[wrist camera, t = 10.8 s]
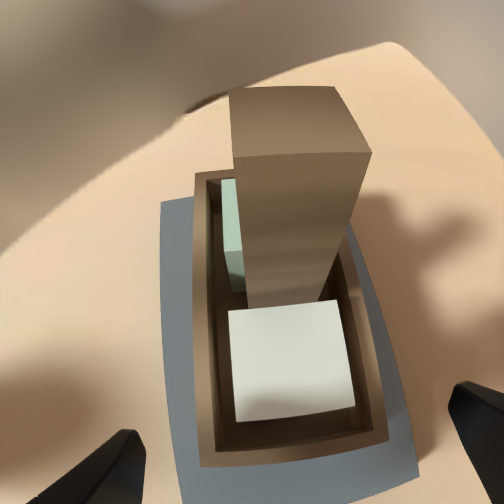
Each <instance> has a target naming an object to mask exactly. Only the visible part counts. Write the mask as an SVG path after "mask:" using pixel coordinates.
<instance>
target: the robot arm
mask: <svg viewBox="0 0 504 504" xmlns="http://www.w3.org/2000/svg"><path fill="white" fill-rule="evenodd" d="M448 411H449V414H450V416H451V418H452V420H453V423H454V425H455V428H456V430H457V432H458V435H459V437H460V440H461V442H462V444H463V447H464V449H465V451H466V453H467V455H468V457H469V459H470V460H471V462H472V464H473V466H474V468H475V470H476V472H477V474H478V476H479V478H480V480H481V482H482V484H483V486H484V488H485V490H486V492H487V494H488V496H489V498H490V500H491V503H492V504H504V393H501V392H498V391H495V390H492V389H489V388H487V387H484V386H481V385H478V384H475V383H473V382H470V381H463V382H461V383H458V384H456V385H455V387H454V389H453V392H452V395H451V398H450V401H449V404H448ZM145 463H146V450H145V447H144V445H143V443H142V441H141V438H140V436H139V434H138V432H137V431H136V430H133V429H121V430H119V431H118V432H117V433H116V434H115V435H113V436H112V437H111V438H110V439H109V440H107V441H106V442H105V443H104V444H102V445H101V446H100V447H99V448H98V449H96V450H95V451H94V452H93V453H91V454H90V455H89V456H88V457H86V458H85V459H84V460H83V461H81V462H80V463H79V464H78V465H76V466H75V467H74V468H73V469H71V470H70V471H69V472H67V473H66V474H65V475H64V476H62V477H61V478H60V479H58V480H57V481H56V482H55V483H53V484H52V485H51V486H49V487H48V488H47V489H45V490H44V491H43V492H41V493H40V494H39V495H38V497H34V498H33V499H32V500H30V501H29V502H28V503H26V504H142V497H143V485H144V474H145Z"/></svg>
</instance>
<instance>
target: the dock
mask: <svg viewBox="0 0 504 504" xmlns="http://www.w3.org/2000/svg"><path fill="white" fill-rule="evenodd" d="M193 215H194V196H193V197H187V198H181V199H175V200H169V201H164V202H161V214H160V302H161V327H162V345H163V360H164V372H165V384H166V394H167V404H168V412H169V421H170V429H171V436H172V443H173V450H174V457H175V463H176V469H177V475H178V481H179V486H180V492H181V497H182V502H183V504H348V503H351V502H354V501H358V500H361V499H364V498H367V497H370V496H373V495H375V494H378V493H381V492H384V491H386V490H389V489H391V488H394V487H396V486H399V485H401V484H404V483H406V482H408V481H411V480H413V479H415V478H417V477H420V476H419V469H418V463H417V456H416V450H415V445H414V439H413V434H412V429H411V424H410V419H409V414H408V410H407V405H406V401H405V396H404V392H403V388H402V384H401V380H400V376H399V372H398V368H397V364H396V360H395V357H394V353H393V349H392V346H391V342H390V339H389V335H388V332H387V329H386V325H385V322H384V319H383V315H382V312H381V309H380V306H379V303H378V300H377V297H376V294H375V291H374V288H373V285H372V282H371V279H370V276H369V273H368V270H367V268H366V265H365V262H364V259H363V257H362V254H361V251H360V249H359V246H358V243H357V241H356V238H355V235H354V233H353V230H352V228H351V225H350V223H349V222H348V225H347V228H346V230H345V231H346V235H347V238H348V242H349V245H350V249H351V252H352V256H353V259H354V263H355V267H356V270H357V274H358V278H359V282H360V286H361V290H362V294H363V298H364V302H365V306H366V310H367V315H368V319H369V323H370V328H371V333H372V337H373V342H374V347H375V352H376V357H377V362H378V368H379V373H380V379H381V384H382V390H383V397H384V403H385V410H386V417H387V424H388V432H389V440H390V441H387V442H384V443H380V444H377V445H373V446H369V447H365V448H361V449H357V450H353V451H348V452H344V453H339V454H334V455H329V456H324V457H318V458H313V459H306V460H300V461H293V462H285V463H276V464H267V465H255V466H239V467H200V458H199V447H198V434H197V419H196V403H195V384H194V359H193V317H192V258H193Z"/></svg>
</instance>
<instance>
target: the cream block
mask: <svg viewBox="0 0 504 504" xmlns="http://www.w3.org/2000/svg"><path fill="white" fill-rule="evenodd" d="M228 316H229V332H230V347H231V361H232V375H233V388H234V400H235V413H236V422H244V421H257V420H268V419H277V418H286V417H293V416H301V415H307V414H314V413H320V412H326V411H331V410H337V409H342V408H347V407H352V406H355V399H354V393H353V386H352V380H351V374H350V368H349V362H348V356H347V351H346V345H345V340H344V334H343V329H342V324H341V319H340V314H339V309H338V304H337V300H330V301H322V302H314V303H305V304H296V305H287V306H277V307H267V308H257V309H245V310H234V311H228Z"/></svg>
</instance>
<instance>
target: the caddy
mask: <svg viewBox="0 0 504 504" xmlns="http://www.w3.org/2000/svg"><path fill="white" fill-rule="evenodd" d="M228 90H229V106H230V122H231V137H232V152H233V164H234V169H229V170H218V171H209V172H199V173H195V190H194V215H193V258H192V317H193V359H194V384H195V403H196V419H197V434H198V447H199V458H200V467H239V466H255V465H267V464H276V463H285V462H293V461H300V460H306V459H313V458H318V457H324V456H329V455H334V454H339V453H344V452H348V451H353V450H357V449H361V448H365V447H369V446H373V445H377V444H380V443H384V442H387V441H390V440H389V432H388V424H387V417H386V410H385V403H384V397H383V390H382V384H381V379H380V373H379V368H378V362H377V357H376V352H375V347H374V342H373V337H372V333H371V328H370V323H369V319H368V315H367V310H366V306H365V302H364V298H363V294H362V290H361V286H360V282H359V278H358V274H357V270H356V267H355V263H354V259H353V256H352V252H351V249H350V245H349V242H348V238H347V235H346V231H345V230H346V228H347V225H348V222H349V219H350V217H351V214H352V211H353V208H354V206H355V203H356V200H357V197H358V194H359V191H360V188H361V185H362V182H363V179H364V176H365V173H366V170H367V167H368V164H369V161H370V158H371V155H372V151H371V149H370V147H369V145H368V143H367V142H366V140H365V138H364V136H363V134H362V132H361V131H360V129H359V127H358V125H357V123H356V122H355V120H354V118H353V117H352V115H351V113H350V111H349V110H348V108H347V106H346V105H345V103H344V101H343V100H342V98H341V97H340V95H339V93H338V92H337V90H336V89H335V87H330V86H274V87H253V88H238V89H228ZM225 179H235V184H236V194H237V204H238V214H239V224H240V233H241V243H242V252H243V262H244V271H245V281H246V290H247V291H244V292H232V288H231V283H230V278H229V273H228V268H227V263H226V259H225V254H224V238H223V213H222V184H221V180H225ZM330 300H337V304H338V309H339V314H340V319H341V324H342V329H343V334H344V340H345V345H346V351H347V356H348V362H349V368H350V374H351V380H352V386H353V393H354V399H355V406H352V407H347V408H342V409H337V410H331V411H326V412H320V413H314V414H307V415H301V416H293V417H286V418H277V419H268V420H257V421H244V422H236V413H235V400H234V388H233V375H232V361H231V347H230V332H229V316H228V311H234V310H245V309H257V308H267V307H277V306H287V305H296V304H305V303H314V302H322V301H330Z"/></svg>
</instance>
